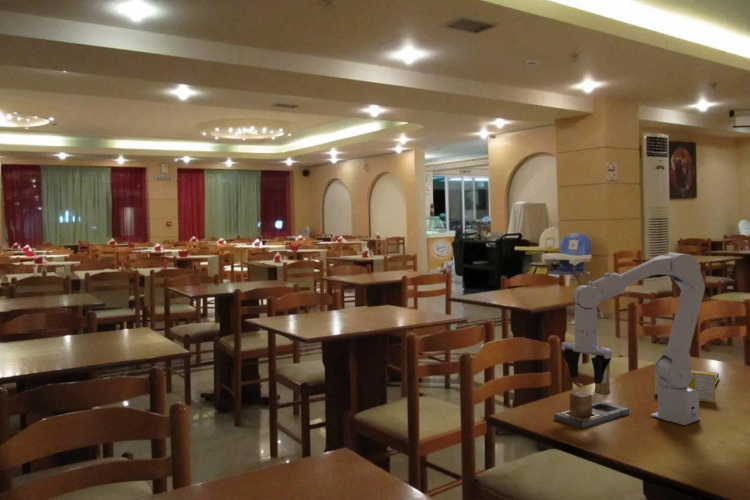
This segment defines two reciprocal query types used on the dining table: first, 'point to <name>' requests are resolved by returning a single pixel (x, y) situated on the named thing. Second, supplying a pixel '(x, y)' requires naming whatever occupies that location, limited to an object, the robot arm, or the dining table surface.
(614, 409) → the grey peg holder tray
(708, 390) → the candy box
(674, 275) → the robot arm
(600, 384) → the sprinkles bottle
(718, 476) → the dining table surface
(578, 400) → the square peg block
